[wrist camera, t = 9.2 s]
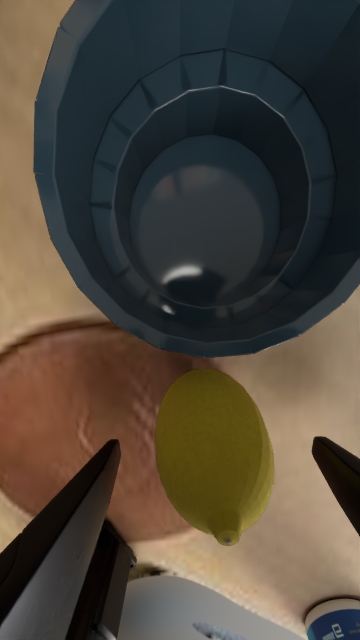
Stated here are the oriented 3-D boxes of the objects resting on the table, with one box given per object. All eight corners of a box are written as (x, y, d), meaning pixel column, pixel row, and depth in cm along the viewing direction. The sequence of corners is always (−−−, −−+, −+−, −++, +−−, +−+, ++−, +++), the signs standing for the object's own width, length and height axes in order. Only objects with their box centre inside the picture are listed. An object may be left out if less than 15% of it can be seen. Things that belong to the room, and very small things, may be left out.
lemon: (160, 351, 12) (122, 474, 4) (237, 346, 12) (337, 465, 4) (167, 415, 13) (147, 599, 6) (236, 412, 13) (314, 596, 5)
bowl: (156, 352, 12) (139, 398, 7) (65, 171, 10) (-51, 60, 5) (325, 282, 11) (440, 282, 6) (270, 55, 9) (387, -246, 4)
